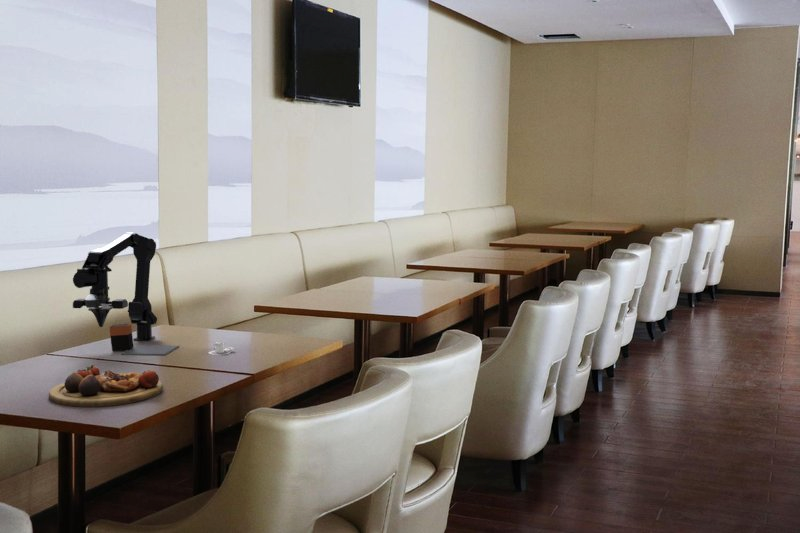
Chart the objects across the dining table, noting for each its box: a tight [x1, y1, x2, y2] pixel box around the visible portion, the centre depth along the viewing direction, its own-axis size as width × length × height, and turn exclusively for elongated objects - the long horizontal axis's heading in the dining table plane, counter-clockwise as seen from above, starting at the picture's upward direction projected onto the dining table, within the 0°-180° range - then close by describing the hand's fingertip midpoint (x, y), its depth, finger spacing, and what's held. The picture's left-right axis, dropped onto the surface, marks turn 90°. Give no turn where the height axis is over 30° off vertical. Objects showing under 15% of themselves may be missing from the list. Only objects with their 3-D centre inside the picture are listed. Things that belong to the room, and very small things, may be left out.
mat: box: [120, 344, 180, 357], centre depth 328 cm, size 16×16×1 cm
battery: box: [109, 321, 134, 352], centre depth 328 cm, size 4×7×10 cm, turn 86°
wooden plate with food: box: [48, 364, 164, 408], centre depth 264 cm, size 32×32×8 cm
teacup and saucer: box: [208, 341, 235, 356], centre depth 324 cm, size 9×8×4 cm
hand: (101, 326), depth 328 cm, fingers closed
